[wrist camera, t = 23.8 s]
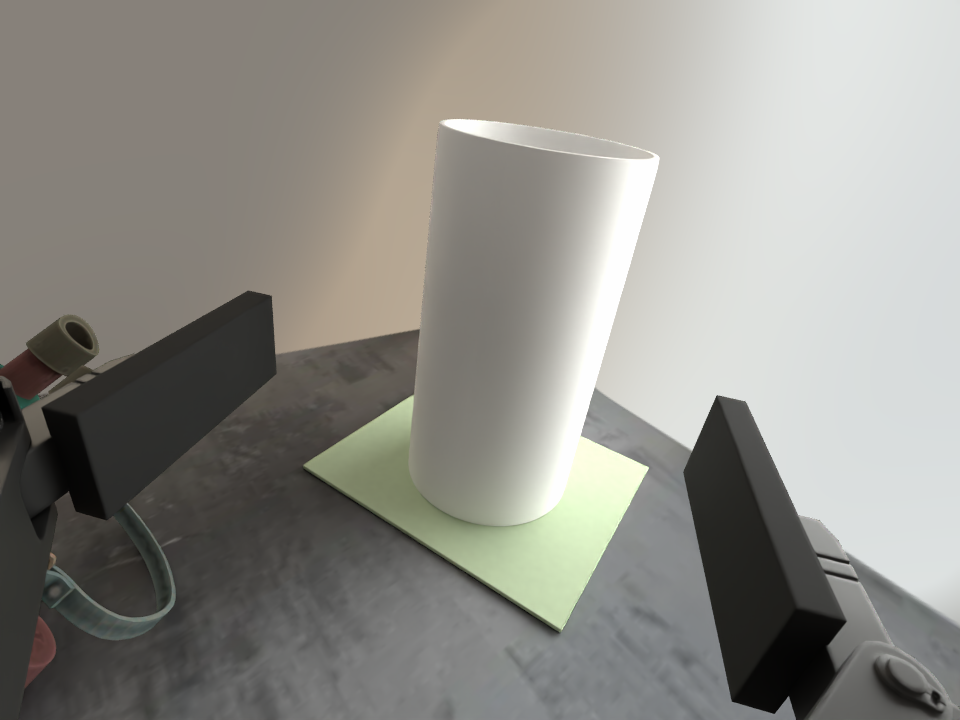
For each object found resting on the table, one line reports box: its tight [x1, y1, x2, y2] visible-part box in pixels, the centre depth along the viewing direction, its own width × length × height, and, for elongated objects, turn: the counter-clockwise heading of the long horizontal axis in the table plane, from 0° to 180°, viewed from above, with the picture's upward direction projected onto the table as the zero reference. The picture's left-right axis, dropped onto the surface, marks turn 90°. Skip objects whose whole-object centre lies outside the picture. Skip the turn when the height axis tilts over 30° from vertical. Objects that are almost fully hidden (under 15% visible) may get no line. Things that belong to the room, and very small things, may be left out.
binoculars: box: [0, 315, 176, 689], centre depth 16 cm, size 9×9×10 cm
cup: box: [408, 119, 659, 526], centre depth 23 cm, size 8×8×16 cm
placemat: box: [303, 394, 649, 633], centre depth 27 cm, size 14×12×1 cm
